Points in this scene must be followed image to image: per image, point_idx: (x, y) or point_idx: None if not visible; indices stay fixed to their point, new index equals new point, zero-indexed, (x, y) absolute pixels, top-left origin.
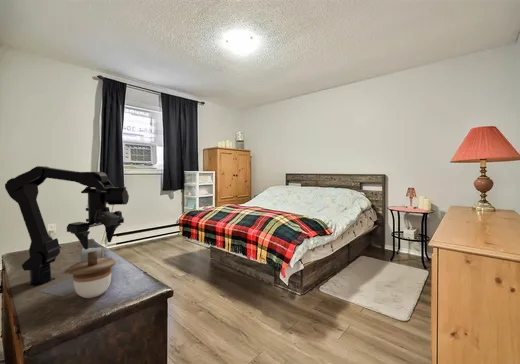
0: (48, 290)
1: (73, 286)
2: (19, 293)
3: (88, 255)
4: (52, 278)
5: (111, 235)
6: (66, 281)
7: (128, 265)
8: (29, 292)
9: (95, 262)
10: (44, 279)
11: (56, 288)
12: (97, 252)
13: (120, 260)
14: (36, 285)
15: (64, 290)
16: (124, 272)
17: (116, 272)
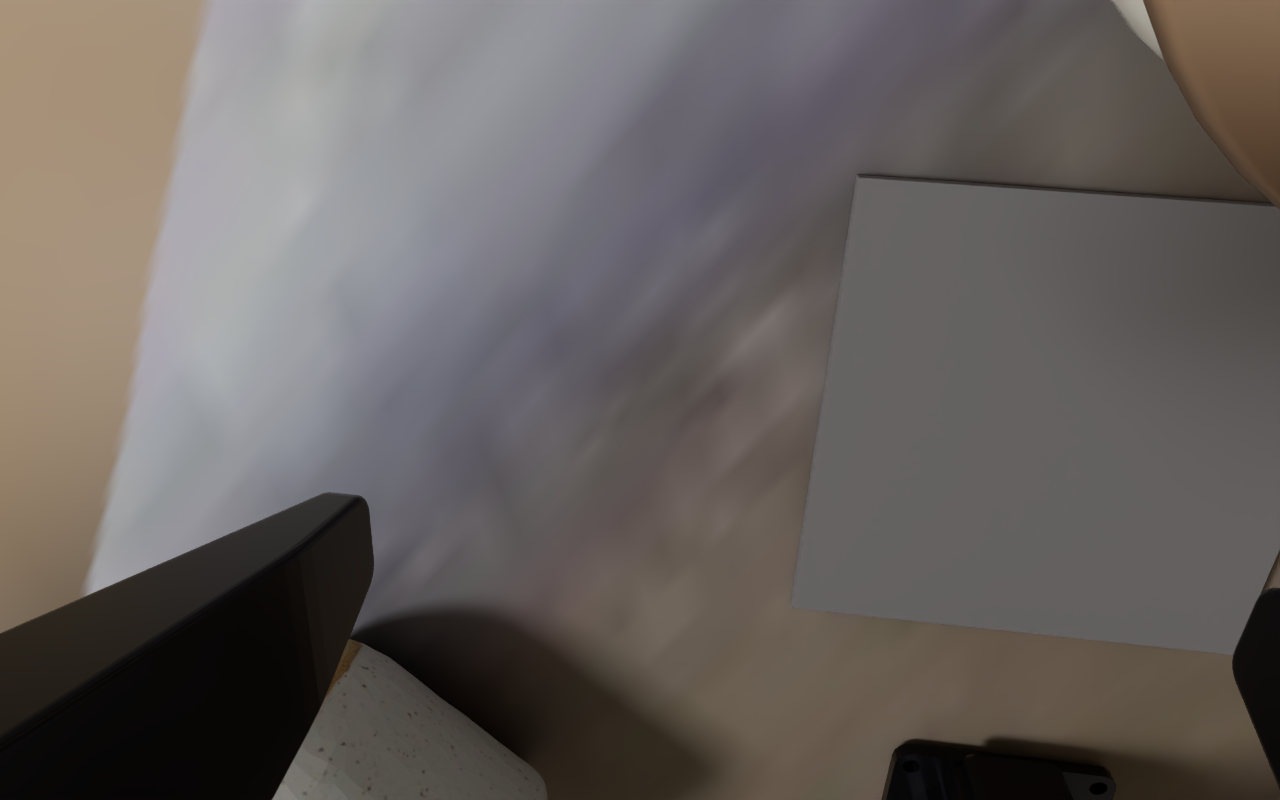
0: (1222, 562)
1: (1080, 369)
2: (1262, 784)
3: None
4: (909, 781)
5: (158, 621)
6: (944, 584)
7: (199, 238)
8: (1235, 720)
9: None
10: (1055, 793)
11: (1156, 524)
12: (326, 794)
13: (137, 507)
14: (1109, 779)
15: (1213, 376)
16: (427, 60)
17: (477, 199)
